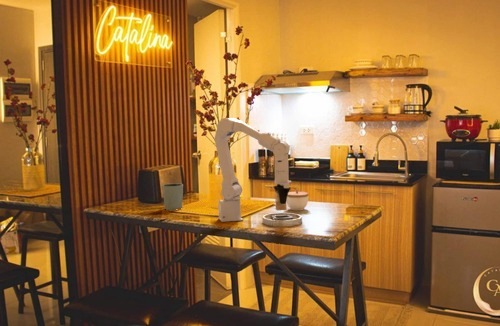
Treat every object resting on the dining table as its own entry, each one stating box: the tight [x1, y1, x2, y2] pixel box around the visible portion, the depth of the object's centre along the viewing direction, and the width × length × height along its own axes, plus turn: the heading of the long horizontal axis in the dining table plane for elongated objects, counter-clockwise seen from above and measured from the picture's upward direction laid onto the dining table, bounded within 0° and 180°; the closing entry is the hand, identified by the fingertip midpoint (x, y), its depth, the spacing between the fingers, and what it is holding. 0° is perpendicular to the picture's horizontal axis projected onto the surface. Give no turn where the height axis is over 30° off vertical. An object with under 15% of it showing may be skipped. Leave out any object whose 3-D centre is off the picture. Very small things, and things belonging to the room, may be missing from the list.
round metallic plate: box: [261, 212, 303, 228], centre depth 215 cm, size 16×16×2 cm
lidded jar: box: [286, 189, 309, 212], centre depth 243 cm, size 11×11×9 cm
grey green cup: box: [161, 182, 184, 211], centre depth 250 cm, size 10×10×12 cm
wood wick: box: [274, 191, 287, 211], centre depth 214 cm, size 4×2×8 cm, turn 103°
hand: (282, 203), depth 214 cm, fingers closed on wood wick, 2 cm apart
